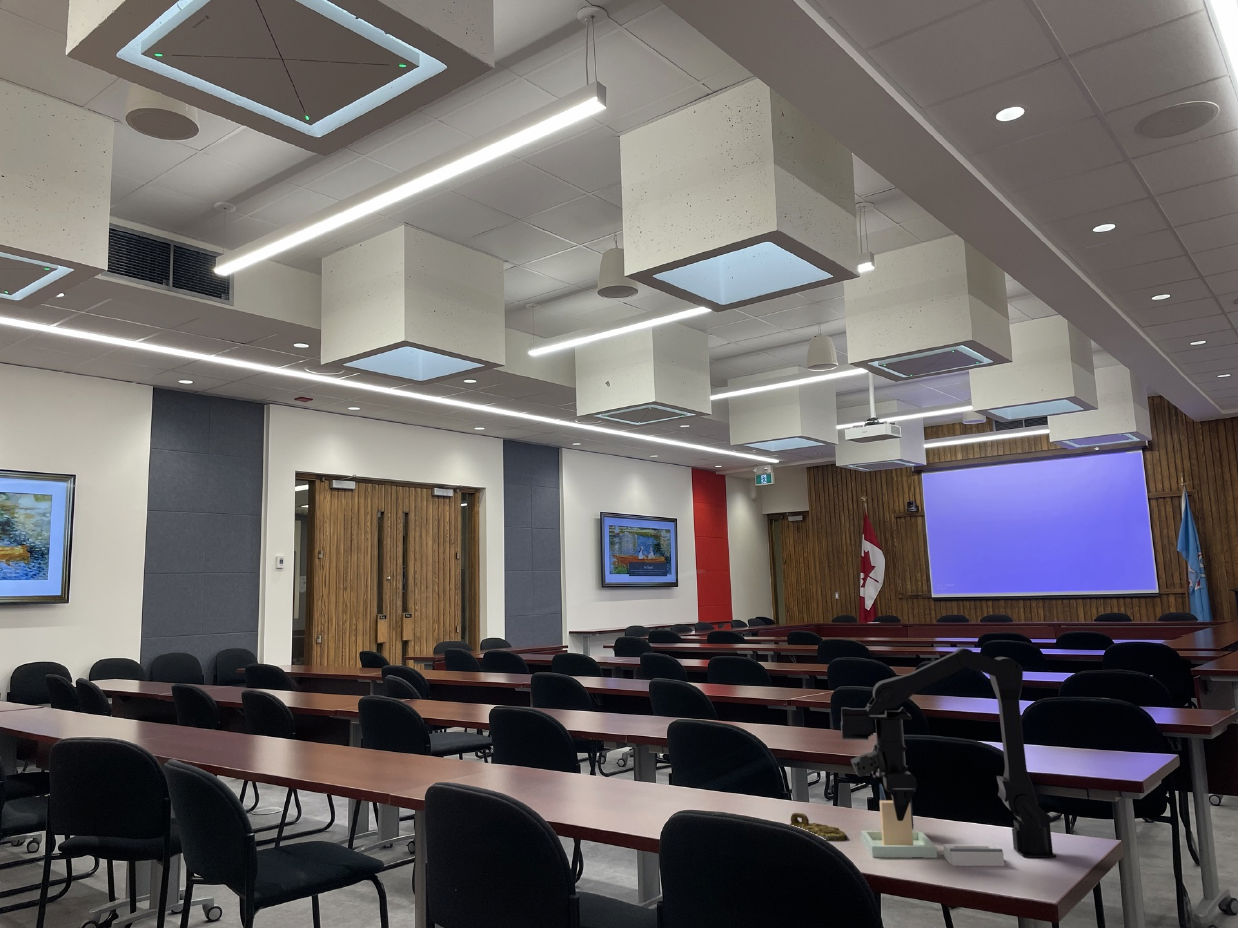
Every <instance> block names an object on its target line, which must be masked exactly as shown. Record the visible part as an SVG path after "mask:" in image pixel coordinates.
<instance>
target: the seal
mask: <svg viewBox="0 0 1238 928" xmlns="http://www.w3.org/2000/svg"><path fill="white" fill-rule="evenodd" d="M799 819H801V820H799ZM790 825H794V826H797V827H800V828H803V829H805V830H808V831H809V832H812V833H814V834H817V835H818V836H821V837H823V838H824V839H826V840H827V841H826V842H840V841H841V842H842V841H846V840H847V839H848V835H847V834H846V832H844V831H843V830H841V829H840V828H839V827H835V826H829V825H828V824H821V823H817V822H813V823H810V819H809V818H808V816H807V814H805V813H804V812H803V813H802V812H800V813H799V812H792V813H791V816H790V824H789V826H790Z"/></svg>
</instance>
